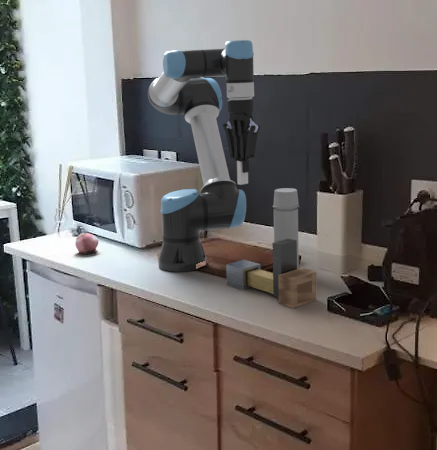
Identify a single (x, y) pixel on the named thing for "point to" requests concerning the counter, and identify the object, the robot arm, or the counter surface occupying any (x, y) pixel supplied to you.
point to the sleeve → (239, 273)
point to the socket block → (297, 287)
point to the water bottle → (286, 216)
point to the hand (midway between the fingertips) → (242, 183)
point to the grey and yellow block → (275, 267)
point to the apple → (86, 243)
